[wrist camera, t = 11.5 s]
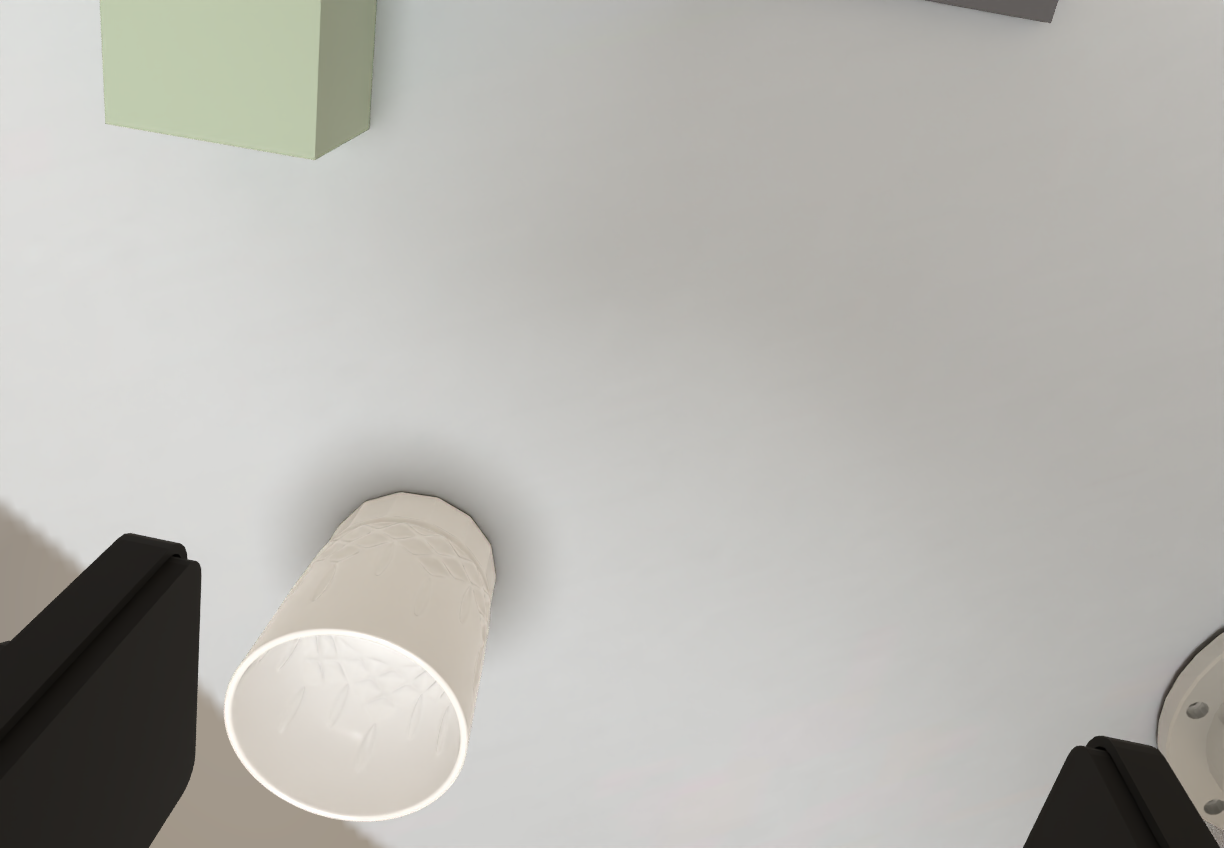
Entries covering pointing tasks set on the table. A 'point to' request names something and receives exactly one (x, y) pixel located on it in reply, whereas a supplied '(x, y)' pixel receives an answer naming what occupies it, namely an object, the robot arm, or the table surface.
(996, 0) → the tile
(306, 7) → the sage cube
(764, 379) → the table surface
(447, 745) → the white cup
